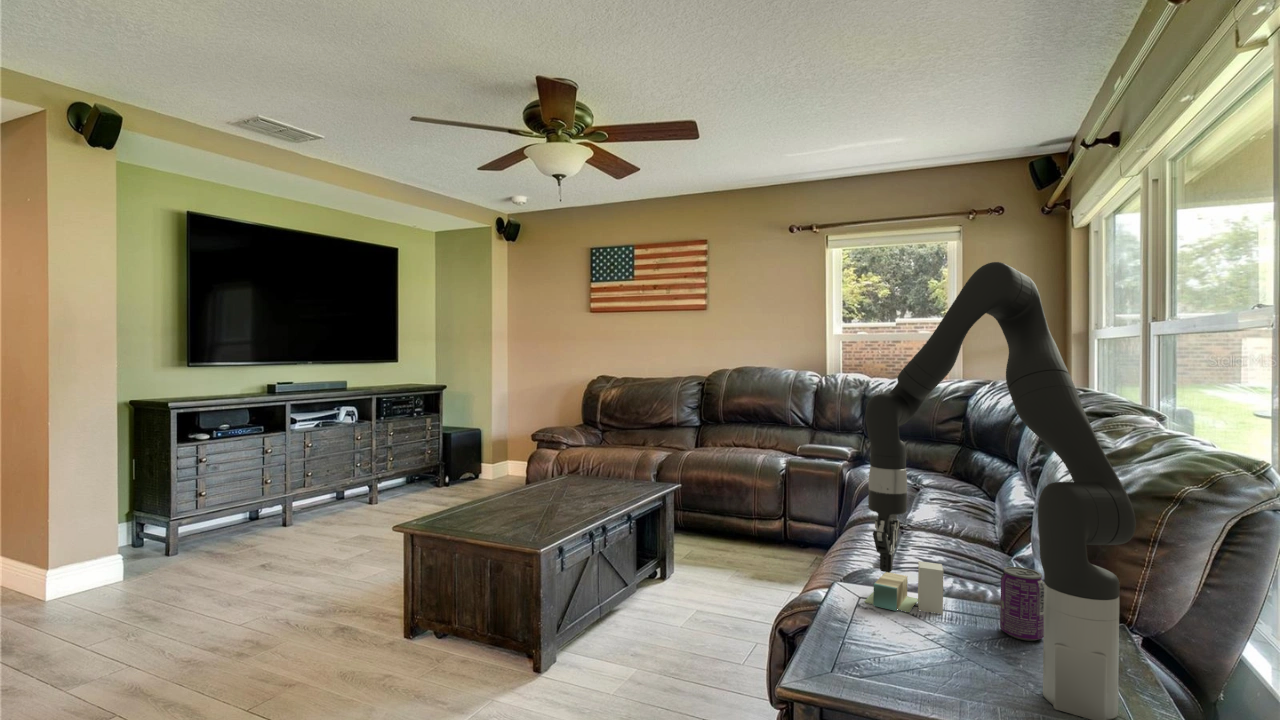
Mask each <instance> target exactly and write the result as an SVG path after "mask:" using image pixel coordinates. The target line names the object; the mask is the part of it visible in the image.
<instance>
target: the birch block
mask: <svg viewBox="0 0 1280 720" xmlns="http://www.w3.org/2000/svg"><path fill="white" fill-rule="evenodd" d="M873 592H874V595H873V607H877V608H882V609H886V610H891V611H895V612H896V611H897V609H898V608H899V607H900V605H901V604H902V603H903V601H904V600H905V599H906V598H907V596H908V575H904V574H898V573H894V572H890V573H888V572H884V573H883V574H882V575H881V576H880V577H879V578H878V579H877V580H876V581H875V582H874V583H873Z"/></svg>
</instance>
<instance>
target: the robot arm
mask: <svg viewBox="0 0 1280 720" xmlns="http://www.w3.org/2000/svg"><path fill="white" fill-rule="evenodd" d="M1043 306H1044V305H1043V304H1042V299H1041V295H1040V292H1039V290H1038V287H1037V285H1036V283H1035V282H1034V280H1032V278H1031V277H1030V276H1028V275H1026V274H1025V273H1023V272H1021V271H1019V270H1017V269H1016V268H1014V267H1012V266H1010V265H1008V264H1006V263H1004V262H1000V261H992V262H988V263H985V264H983V265H982V266H980V267H979V268H978V269H977V270H975V271H974V273H973V274H972V275H971V276H970V277H969V279H968V280H967V281H966V282H965V284H964V285H963V287H962V289H961V290H960V291H959V293H958V294H957V295H956V298H955V299H954V301H953V302H952V303H951V305H950V307H949V308H948V310H947V311H946V313H945V314H944V316H943V318H942V319H941V321H940V322H939V324H938V325H937V327H936V329H935V330H934V331H933V333H932V334H931V336H930V337H928V340H927V341H926V342H925V344H923V346H922V347H921V348H920V349H919V350H918V352H917V353H916V354H915V355H914V356H913V357H912V358H911V359H910V360H909V361H908V363H906V365H905V366H904V367H903V368H902V370H900V372H899V374H898V376H897V379H896V380H897V383H896V384H895V386H894V387H893V388H892V389H891V391H889V392H888V393H881V394H876V395H874V396H872V397H871V398H870V399H869V401H868V402H867V404H866V408H865V411H864V412H865V414H864V417H865V425H866V430H867V436H868V440H869V444H870V454H869V455H870V456H869V457H870V458H869V459H870V460H869V465H870V467H869V474H868V497H867V498H868V499H867V502H868V505H867V507H868V510H870V511H871V512H874V513H876V514H877V519H875V521H874V528H875V530H873V531H872V538H873V540H874V541H873V542H874V546H875V549H876V550H875V551H876V552H877V553H879V570H880V571H881V572H884V573H885V572H888V573H892V571H893V568H894V567H893V566H894V563H893V562H894V558H893V556H894V553H895V549H896V548H897V546H898V540H899V539H898V537H899V533H900V527H901V522H900V521H899V519H898V515H905V514H906V513H907V511H908V510H907V508H908V499H907V498H908V475H907V448H906V447H907V446H906V444H905V442H904V441H902V440H901V438H900V429H899V427H900V426H902V425H905V424H906V423H907V422H909V421H910V420H911V419H912V418H913V417H914V416H915V414H916V413H917V412H918V410H919V409H920V408H921V406H922V404H923V403H924V401H925V399H926V397H928V396H929V395H930V394H931V392H932V391H934V389H936V387H937V386H938V385H939V384H940V383H941V382H943V380H944V379H945V378H946V376H947V375H949V373H950V372H951V370H952V369H953V368H954V366H955V365H956V364H955V363H956V361H957V359H958V356H959V354H960V350H961V348H962V345H963V343H964V340H965V338H966V336H967V334H968V333H969V331H971V328H972V327H973V326H974V325H975V324H976V323H977V322H978V321H979V320H980V319H981V318H982V317H984V316H985V314H987V315H989V316H992V317H993V318H994V320H996V321H997V323H998V325H999V327H1000V329H1001V330H1002V333H1003V335H1004V338H1005V340H1006V344H1007V347H1008V357H1007V361H1006V367H1005V368H1006V369H1005V380H1006V385H1007V390H1008V392H1009V394H1010V395H1009V396H1010V397H1011V401H1012V403H1013V406H1014V408H1015V412H1016V413H1017V415H1018V417H1019V418H1020V420H1021V421H1022V422H1023V424H1025V426H1026V427H1027V428H1028V429H1029V430H1030V431H1031V432H1032V433H1033V434H1034V435H1036V436H1037V438H1039V439H1040V440H1041V441H1042V442H1043V443H1045V445H1046V446H1048V447H1049V448H1050V449H1051V450H1052V451H1053V452H1054V453H1055V454H1056V455H1057V456H1058V457H1059V459H1060V460H1061V462H1063V464H1064V466H1065V467H1066V469H1067V471H1068V473H1069V475H1070V477H1071V479H1072V481H1055V482H1050V483H1049V484H1047V485H1045V486H1044V487H1043V489H1042V491H1041V492H1040V495H1039V497H1038V503H1037V504H1038V506H1037V515H1038V516H1037V520H1038V521H1037V523H1038V524H1037V525H1038V537H1039V539H1038V541H1039V558H1040V564H1041V566H1042V570H1043V575H1044V576H1043V578H1044V580H1043V583H1044V637H1043V638H1042V639H1043V645H1042V646H1043V650H1042V651H1043V653H1042V656H1043V657H1042V658H1043V659H1042V664H1043V666H1042V670H1043V671H1042V694H1043V697H1044V698H1045V700H1047V702H1049V704H1052V705H1053V710H1056V711H1061V712H1064V713H1067V714H1071V715H1073V716H1077V717H1078V716H1079V717H1082V718H1084V719H1089V720H1113V719H1116V718H1117V717H1118V715H1119V657H1120V656H1119V650H1120V649H1119V648H1120V647H1119V646H1120V644H1119V643H1120V641H1119V639H1120V581H1119V578H1118V577H1117V575H1116V574H1115V573H1114V572H1112V571H1110V570H1108V569H1106V568H1103V567H1102V566H1098V565H1095V564H1092V563H1091V562H1090V561H1089V557H1088V552H1087V551H1088V549H1087V545H1090V546H1117V545H1123V544H1126V543H1129V542H1130V541H1131V540H1132V539H1133V537H1134V535H1135V532H1136V527H1137V526H1136V525H1137V521H1136V514H1135V511H1134V508H1133V505H1132V502H1131V499H1130V496H1129V495H1128V492H1127V491H1126V489H1125V487H1124V485H1123V484H1122V482H1121V480H1120V478H1119V477H1118V474H1117V473H1116V471H1115V469H1114V468H1113V466H1112V464H1111V462H1110V461H1109V459H1108V457H1107V455H1106V453H1105V452H1104V450H1103V448H1102V446H1101V444H1100V441H1099V440H1098V438H1097V436H1096V434H1095V432H1094V429H1093V427H1092V425H1091V422H1090V421H1089V419H1088V416H1087V414H1086V412H1085V409H1084V406H1083V403H1082V402H1081V399H1080V396H1079V394H1078V390H1077V388H1076V386H1075V384H1074V381H1073V378H1072V376H1071V374H1070V372H1069V369H1068V368H1067V366H1066V364H1065V362H1064V359H1063V357H1062V354H1061V353H1060V349H1059V348H1058V346H1057V345H1058V344H1056V341H1055V339H1054V338H1053V335H1052V333H1051V331H1050V330H1051V329H1050V328H1049V325H1048V321H1047V318H1046V315H1045V310H1044V307H1043Z"/></svg>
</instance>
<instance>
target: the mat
mask: <svg viewBox="0 0 1280 720" xmlns="http://www.w3.org/2000/svg"><path fill="white" fill-rule="evenodd" d="M873 595H874V591H873V592H872V593H871V594H869V596H868V597H867V598H865V600H864V601H863V603H864V602H865V604H868V603H869V605H872V604H873ZM916 604H918V597H912V596H908V595H907V598H906V599H905V600H904V601H903V603H902V604H901V605H900V607H899V608H898V610H902V611H906V612H910V613H911V611H912V610H913V609H912V607H913V606H914V605H915V606H916ZM915 606H914V607H915ZM914 607H913V608H914ZM911 609H912V610H911ZM910 610H911V611H910ZM902 611H901V612H902ZM906 612H905V613H906Z"/></svg>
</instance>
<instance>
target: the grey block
mask: <svg viewBox="0 0 1280 720" xmlns="http://www.w3.org/2000/svg"><path fill="white" fill-rule="evenodd" d="M917 565H918V566H917V567H918V569H917V570H918V571H917V572H918V575H917V576H918V577H917V578H918V579H917V584H918V585H917V599H918V602H917V606H918V608H919V609H918V611H919V610H921V611H920V612H922V611H926V612H925V613H929V612H935V613H941V614H940V615H942V614H943V615H944V567H943V564H942V563H935V562H928V561H921V560H920V561H918V564H917ZM935 613H934V614H935Z"/></svg>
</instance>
